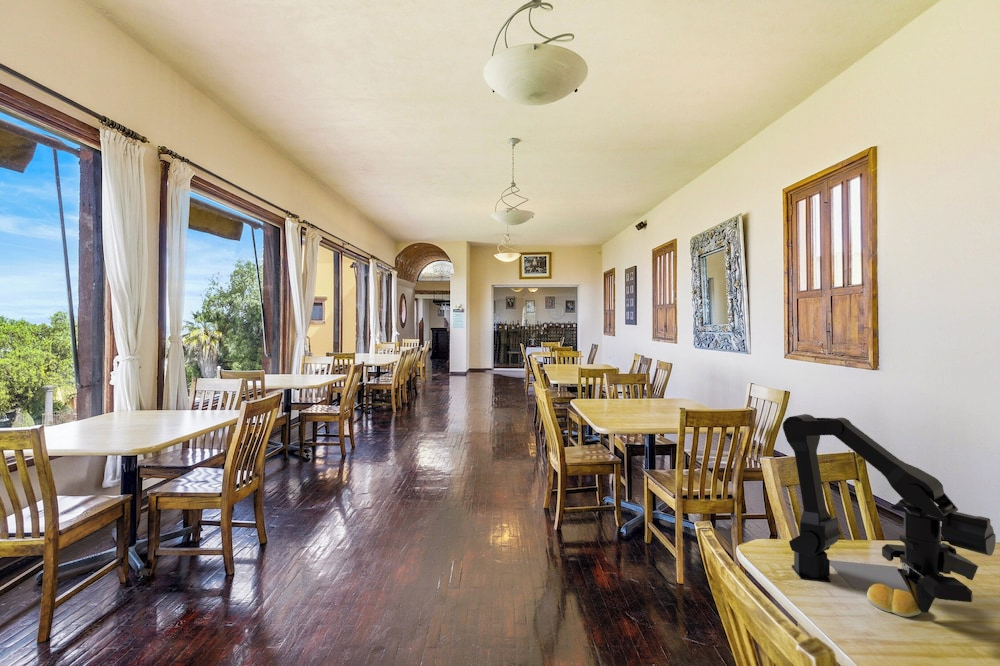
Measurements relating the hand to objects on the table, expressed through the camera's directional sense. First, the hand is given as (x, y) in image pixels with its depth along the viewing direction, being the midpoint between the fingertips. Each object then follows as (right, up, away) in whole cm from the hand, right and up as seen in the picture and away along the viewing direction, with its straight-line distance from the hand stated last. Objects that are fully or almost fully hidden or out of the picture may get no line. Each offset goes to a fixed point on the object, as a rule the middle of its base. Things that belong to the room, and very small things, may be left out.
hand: (923, 611), depth 97 cm
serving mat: (+4, -2, +17) cm, 18 cm away
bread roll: (+1, -3, +4) cm, 5 cm away
